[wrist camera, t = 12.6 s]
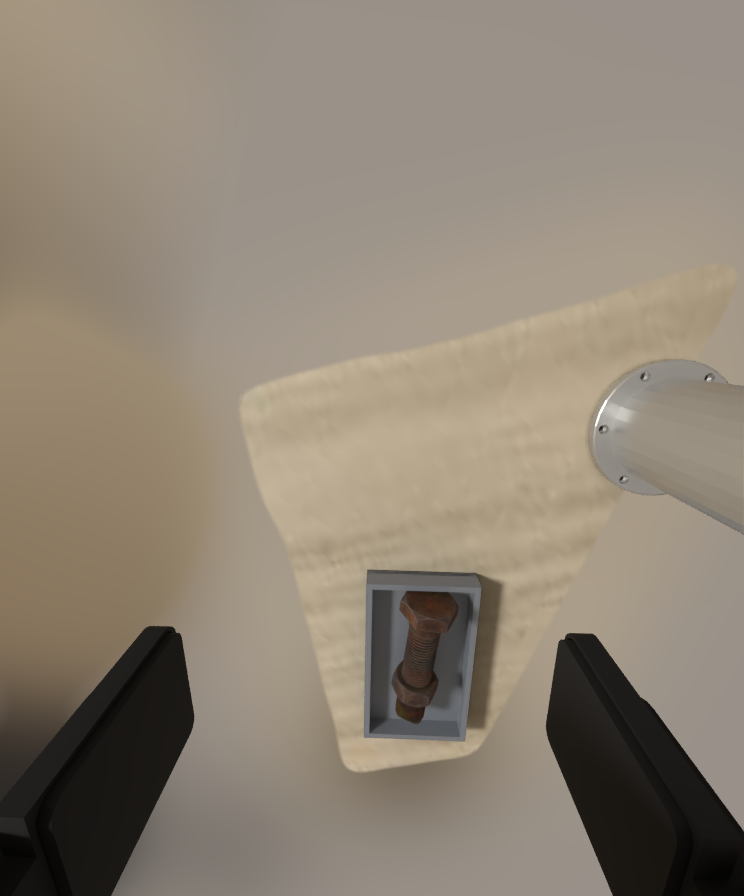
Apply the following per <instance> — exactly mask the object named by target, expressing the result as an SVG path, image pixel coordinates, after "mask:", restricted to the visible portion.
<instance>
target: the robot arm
mask: <svg viewBox="0 0 744 896" xmlns="http://www.w3.org/2000/svg"><path fill="white" fill-rule="evenodd" d="M640 376H641V377H640ZM600 426H601V428H600ZM599 428H600V429H599ZM589 446H590V452H591V456H592V458H593V460H594V463H595V465H596V466H597V468H598V469H599V471H600V472H601V473H602V475H604V476H605V477H606V478H607V479H608V480H609V481H610V482H612V483H613V484H615V485H617V486H618V487H620V488H622V489H624V490H627V491H629V492H632V493H636V494H641V495H663V494H669V495H671V496H673V497H674V498H676V499H678V500H680V501H682V502H684V503H686V504H688V505H690V506H691V507H693V508H695V509H697V510H699V511H701V512H702V513H704V514H707V515H708V516H710V517H712V518H714V519H716V520H717V521H719V522H721V523H723V524H725V525H727V526H729V527H731V528H732V529H734V530H736V531H738V532H740V533H742V534H744V386H740V385H732V384H728V382H727V381H726V380H725V379H724V378H723V377H722V376H721V375H720V374H719V373H718V372H717V371H715V370H714V369H712V368H711V367H709V366H707V365H704V364H701V363H699V362H696V361H690V360H681V359H665V360H659V361H653V362H650V363H647V364H645V365H642V366H639V367H637V368H635V369H634V370H632V371H630V372H628V373H626V374H625V375H624V376H623V377H621V378H620V379H619V380H617V381H616V382H615V383H614V384H613V385H612V386H611V387H610V388H609V389H608V391H607V392H606V393H605V394H604V396H603V397H602V399H601V400H600V402H599V403H598V405H597V407H596V409H595V412H594V414H593V416H592V420H591V424H590V429H589ZM193 723H194V711H193V705H192V699H191V692H190V687H189V680H188V675H187V668H186V662H185V655H184V649H183V643H182V637H181V635H180V633H176V631H175V629H174V628H173V627H169V626H165V627H164V626H149V627H147V628H145V629H144V630H143V631H142V633H141V634H140V635H139V636H138V637H137V639H136V640H135V641H134V642H133V643H132V645H131V646H130V647H129V648H128V649H127V651H126V652H125V653H124V654H123V655H122V657H121V658H120V659H119V661H118V662H117V663H116V664H115V665H114V666H113V668H112V669H111V670H110V671H109V672H108V674H107V675H106V676H105V677H104V679H103V680H102V681H101V682H100V683H99V685H98V686H97V687H96V688H95V689H94V691H93V692H92V693H91V694H90V695H89V696H88V697H87V698H86V699H85V701H84V702H83V703H82V704H81V705H80V707H79V708H78V709H77V710H76V711H75V713H74V714H73V715H72V716H71V717H70V719H69V720H68V721H67V722H66V723H65V725H64V726H63V727H62V728H61V729H60V731H59V732H58V733H57V734H56V735H55V737H54V738H53V739H52V741H50V743H49V744H48V745H47V746H46V747H45V749H44V750H43V751H42V752H41V754H40V755H39V756H38V757H37V758H36V760H35V761H34V762H33V763H32V764H31V766H30V767H29V768H28V769H27V771H26V772H25V773H24V774H23V775H22V776H21V778H20V779H19V780H18V781H17V782H16V784H15V785H14V786H13V787H12V789H11V790H10V791H9V792H8V793H7V795H6V796H5V797H4V798H3V799H2V800H1V802H0V896H111V895H112V892H113V891H114V889H115V887H116V885H117V882H118V880H119V878H120V876H121V874H122V872H123V870H124V868H125V866H126V864H127V862H128V860H129V858H130V856H131V854H132V852H133V850H134V848H135V846H136V844H137V842H138V840H139V838H140V836H141V834H142V831H143V829H144V827H145V825H146V823H147V821H148V819H149V817H150V815H151V813H152V811H153V809H154V807H155V805H156V803H157V801H158V799H159V797H160V795H161V793H162V791H163V788H164V786H165V785H166V783H167V780H168V778H169V776H170V774H171V772H172V770H173V768H174V766H175V764H176V762H177V760H178V758H179V756H180V754H181V752H182V750H183V748H184V746H185V744H186V742H187V739H188V738H189V735H190V733H191V731H192V728H193ZM546 731H547V736H548V740H549V743H550V745H551V748H552V750H553V752H554V755H555V757H556V760H557V762H558V764H559V767H560V769H561V772H562V774H563V777H564V779H565V781H566V784H567V786H568V789H569V791H570V793H571V796H572V798H573V801H574V803H575V805H576V808H577V810H578V813H579V815H580V817H581V820H582V822H583V825H584V827H585V829H586V832H587V834H588V837H589V839H590V842H591V844H592V846H593V848H594V851H595V854H596V856H597V858H598V861H599V863H600V866H601V868H602V870H603V873H604V875H605V878H606V880H607V882H608V885H609V887H610V890H611V892H612V894H613V896H744V831H743V830H742V828H741V827H740V826H739V824H738V823H737V821H736V820H735V819H734V817H733V816H732V815H731V813H730V812H729V811H728V809H727V808H726V807H725V805H724V804H723V803H722V801H721V800H720V799H719V797H718V796H717V794H716V793H715V792H714V790H713V789H712V788H711V786H710V785H709V783H708V782H707V781H706V779H705V778H704V777H703V775H702V774H701V773H700V771H699V770H698V769H697V767H696V766H695V764H694V763H693V762H692V760H691V759H690V758H689V757H688V755H687V754H686V752H685V751H684V750H683V748H682V747H681V745H680V744H679V743H678V742H677V740H676V739H675V738H674V736H673V735H672V733H671V732H670V731H669V729H668V728H667V726H666V725H665V724H664V722H663V721H662V720H661V718H660V717H659V716H658V714H657V713H656V712H655V710H654V709H653V708H652V707H651V706H650V704H649V703H648V702H647V701H645V700H644V699H642V698H641V697H640V696H639V695H638V693H637V692H636V691H635V689H634V688H633V686H632V685H631V684H630V682H629V681H628V680H627V678H626V677H625V676H624V674H623V673H622V671H621V670H620V669H619V667H618V666H617V664H616V663H615V662H614V660H613V659H612V658H611V656H610V655H609V653H608V652H607V651H606V649H605V648H604V646H603V645H602V644H601V642H600V641H599V640H598V638H597V637H596V636H595V635H593V634H580V633H578V634H577V633H569V634H567V635H566V636H565V640H560V641H559V643H558V649H557V655H556V662H555V669H554V675H553V682H552V688H551V695H550V701H549V709H548V714H547V721H546Z"/></svg>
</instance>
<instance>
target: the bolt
mask: <svg viewBox="0 0 744 896" xmlns="http://www.w3.org/2000/svg"><path fill="white" fill-rule="evenodd" d="M458 609H459V606H458V605H457V603H456V601H455V600H454V598H453V597H452V596H451V595H450V594H449V593H448V592H431V591H406V592H405V594H404V595H403V597H402V599H401V601H400V607H399V610H400V611H401V613H402V614H403V615H404V616H405V618H406V619H407V620H408V621H409V630H408V636H407V642H406V647H405V653H404V659H403V660H402V661H401V662H400V664H399V665H398V666H397V668H396V670H395V671H394V673H393V675H392V681H391V684H392V687H393V689H394V691H395V693H396V695H397V699H396V705H395V706H396V708H395V711H396V713H397V716H398V717H400V718H402V719H404V720H406V721H408V722H410V723H412V724H419V723H420V722H421V720H422V718H423V717H424V712H425V707H426V706H428V705H429V704H430V702H431V701H432V699H433V697H434V695H435V693H436V690H437V687H438V683H439V680H438V678H437V676H436V674H435V672H434V671H433V669H434V663H435V658H436V653H437V648H438V644H439V639H440V635H441V633H444V634H447V632H448V630H449V629H450V627H451V625H452V624H453V622H454V620H455V619H456V617H457V614H458Z"/></svg>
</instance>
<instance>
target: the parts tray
mask: <svg viewBox="0 0 744 896" xmlns="http://www.w3.org/2000/svg"><path fill="white" fill-rule="evenodd" d="M481 589H482V587H481V585H480V583H479V580H478V578H477V575H476V573H452V572H420V571H389V570H367V586H366V645H365V703H364V737H366V738H391V739H415V740H440V741H465V736H466V727H467V717H468V708H469V699H470V690H471V681H472V672H473V663H474V653H475V644H476V635H477V626H478V617H479V608H480V599H481ZM406 591H431V592H448V593H449V594H450V595H451V596H452V597H453V598H454V600H455V601H456V603H457V605H458V606H459V609H458V614H457V617H456V619H455V620H454V622H453V624H452V625H451V627H450V629H449V630H448V632H447V634H444V633H441V635H440V639H439V644H438V648H437V653H436V658H435V663H434V669H433V671H434V672H435V674H436V676H437V678H438V680H439V683H438V687H437V690H436V693H435V695H434V697H433V699H432V701H431V702H430V704H429V705H428V706H426V707H425V712H424V717H423V718H422V720H421V722H420V723H419V724H412V723H410V722H408V721H406V720H404V719H402V718H400V717H398V716H397V713H396V711H395V708H396V706H395V705H396V699H397V695H396V693H395V691H394V689H393V687H392V684H391V681H392V675H393V673H394V671H395V670H396V668H397V666H398V665H399V664H400V662H401V661H402V660H403V659H404V653H405V647H406V642H407V636H408V630H409V621H408V620H407V619H406V618H405V616H404V615H403V614H402V613H401V611H400V610H399V607H400V601H401V599H402V597H403V595H404V594H405V592H406Z"/></svg>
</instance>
